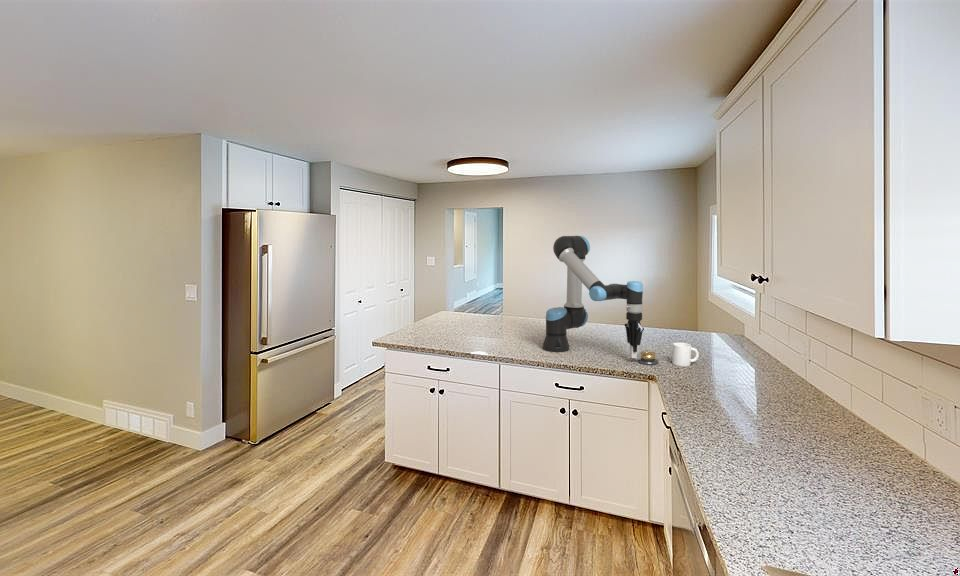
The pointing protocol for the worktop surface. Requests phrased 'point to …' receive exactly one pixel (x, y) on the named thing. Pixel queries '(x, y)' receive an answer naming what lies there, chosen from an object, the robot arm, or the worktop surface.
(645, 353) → the gold rounded piece
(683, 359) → the mug
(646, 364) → the base plate
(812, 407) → the worktop surface
